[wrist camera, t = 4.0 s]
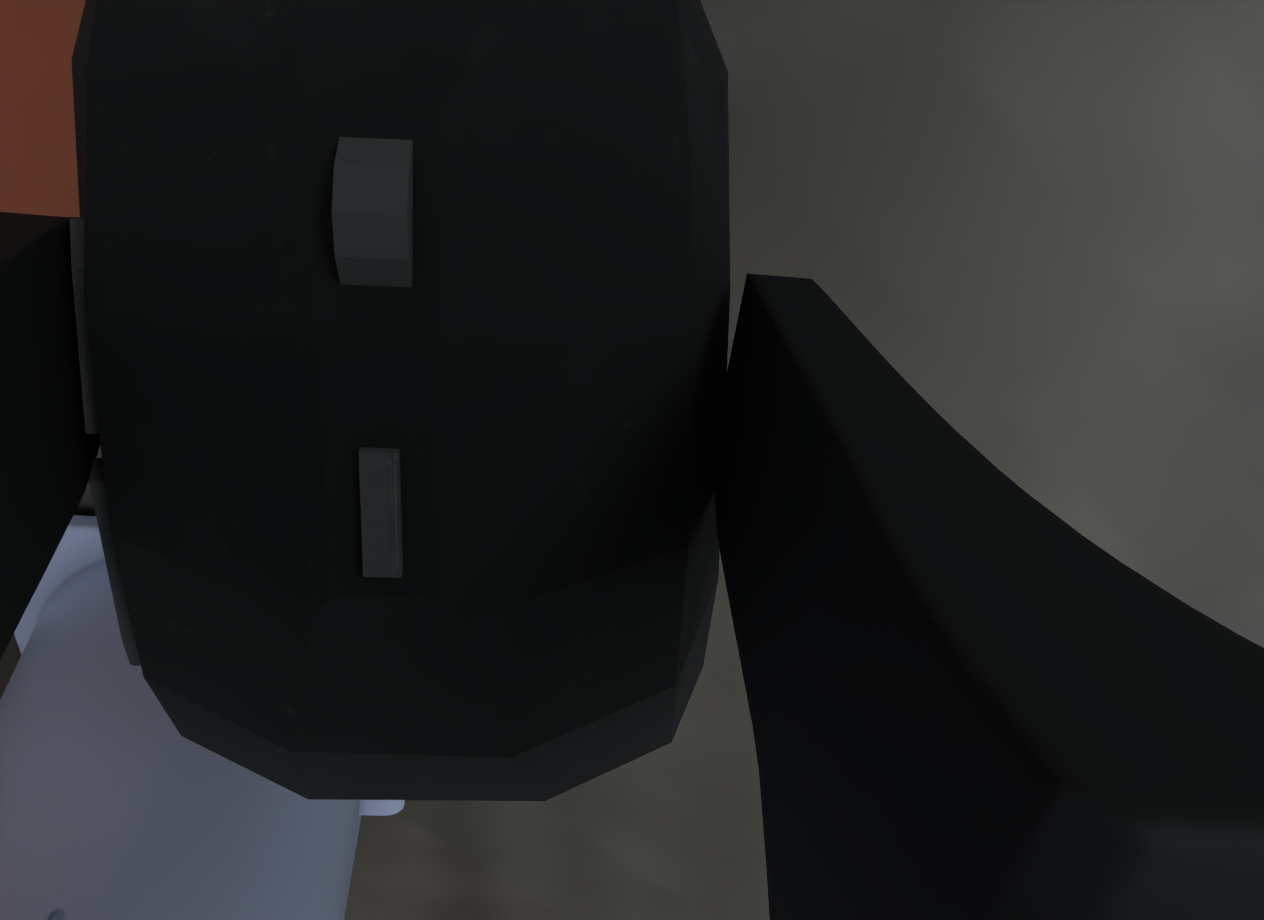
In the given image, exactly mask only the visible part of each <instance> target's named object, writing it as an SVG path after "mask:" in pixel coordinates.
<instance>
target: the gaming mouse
mask: <svg viewBox="0 0 1264 920" xmlns="http://www.w3.org/2000/svg"><path fill="white" fill-rule="evenodd" d="M71 61H72V80H73V98H74V117H75V136H76V155H77V173H78V192H79V211H80V217H70V242H71V266H72V279H73V291H74V303H75V314H76V326H77V338H78V350H79V361H80V373H81V385H82V397H83V408H84V420H85V432H86V434H99V435H100V444H101V453H102V458H94V459H93V462H92V468H91V473H90V478H89V485H90V490H91V494H92V499H93V504H94V509H95V514H96V518H97V523H98V528H99V533H100V538H101V542H102V547H103V552H104V557H105V562H106V567H107V571H108V576H109V581H110V586H111V591H112V595H113V600H114V605H115V610H116V615H117V619H118V624H119V629H120V634H121V639H122V642H123V645H124V648H125V651H126V654H127V657H128V660H129V663H130V665H133V666H141V669H142V673H143V677H144V679H145V680H146V682H147V683H148V685H149V687H150V688H151V690H152V691H153V693H154V694H155V696H156V697H157V699H158V701H159V702H160V704H161V705H162V707H163V708H164V710H165V712H166V713H167V715H168V716H169V718H170V719H171V721H172V723H173V724H174V726H175V727H176V729H177V730H178V732H179V734H180V735H181V736H182V737H184V738H186V739H188V740H190V741H192V742H194V743H196V744H198V745H200V746H202V747H204V748H206V749H208V750H210V751H212V752H214V753H216V754H218V755H220V756H222V757H224V758H226V759H228V760H230V761H232V762H234V763H236V764H238V765H240V766H242V767H244V768H246V769H248V770H250V771H252V772H254V773H256V774H258V775H260V776H262V777H264V778H266V779H268V780H270V781H272V782H274V783H276V784H278V785H280V786H282V787H284V788H286V789H288V790H290V791H292V792H294V793H296V794H298V795H300V796H302V797H304V798H306V799H311V800H494V801H546V800H548V799H550V798H552V797H554V796H557V795H559V794H561V793H563V792H565V791H567V790H570V789H572V788H574V787H576V786H578V785H580V784H582V783H585V782H587V781H589V780H591V779H593V778H595V777H598V776H600V775H602V774H604V773H606V772H608V771H611V770H613V769H615V768H617V767H619V766H621V765H623V764H626V763H628V762H630V761H632V760H634V759H636V758H639V757H641V756H643V755H645V754H647V753H649V752H652V751H654V750H656V749H658V748H660V747H662V746H664V745H667V744H669V743H671V742H672V739H673V737H674V735H675V732H676V730H677V727H678V725H679V723H680V720H681V718H682V715H683V713H684V710H685V708H686V706H687V703H688V701H689V698H690V696H691V694H692V691H693V689H694V686H695V684H696V682H697V679H698V677H699V674H700V672H701V670H702V667H703V663H704V657H705V651H706V645H707V640H708V634H709V628H710V622H711V616H712V611H713V605H714V599H715V593H716V588H717V582H718V574H719V550H720V548H719V542H718V536H717V526H716V509H715V492H714V491H715V483H716V474H717V465H718V455H719V446H720V437H721V428H722V418H723V409H724V400H725V390H726V377H727V352H728V327H729V302H730V231H729V139H728V71H727V68H726V66H725V63H724V60H723V58H722V55H721V53H720V50H719V48H718V45H717V43H716V40H715V38H714V35H713V33H712V30H711V28H710V25H709V22H708V20H707V17H706V15H705V12H704V10H703V7H702V5H701V2H700V0H86V1H85V5H84V10H83V14H82V18H81V22H80V26H79V30H78V34H77V38H76V43H75V47H74V51H73V55H72V59H71Z"/></svg>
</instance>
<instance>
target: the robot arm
mask: <svg viewBox="0 0 1264 920" xmlns="http://www.w3.org/2000/svg"><path fill="white" fill-rule="evenodd" d="M99 447H100V435H99V434H86V432H85V420H84V408H83V397H82V385H81V373H80V361H79V350H78V338H77V326H76V314H75V303H74V291H73V279H72V266H71V242H70V217H58V216H46V215H34V214H22V213H10V212H0V659H1V657H2V655H3V653H4V651H5V650H6V648H7V646H8V644H9V642H10V640H11V638H12V636H13V634H14V635H15V638H16V641H17V644H18V647H19V649H20V652H21V657H20V659H19V661H18V663H17V666H16V668H15V670H14V672H13V674H12V676H11V678H10V680H9V682H8V684H7V687H6V689H5V691H4V693H3V695H2V697H1V699H0V920H344V916H345V911H346V905H347V899H348V893H349V887H350V881H351V875H352V869H353V863H354V857H355V851H356V845H357V839H358V833H359V827H360V821H361V815H373V816H389V815H393V814H396V813H398V812H400V811H401V810H402V809H403V807H404V803H405V800H311V799H306V798H304V797H302V796H300V795H298V794H296V793H294V792H292V791H290V790H288V789H286V788H284V787H282V786H280V785H278V784H276V783H274V782H272V781H270V780H268V779H266V778H264V777H262V776H260V775H258V774H256V773H254V772H252V771H250V770H248V769H246V768H244V767H242V766H240V765H238V764H236V763H234V762H232V761H230V760H228V759H226V758H224V757H222V756H220V755H218V754H216V753H214V752H212V751H210V750H208V749H206V748H204V747H202V746H200V745H198V744H196V743H194V742H192V741H190V740H188V739H186V738H184V737H182V736H181V735H180V734H179V732H178V730H177V729H176V727H175V726H174V724H173V723H172V721H171V719H170V718H169V716H168V715H167V713H166V712H165V710H164V708H163V707H162V705H161V704H160V702H159V701H158V699H157V697H156V696H155V694H154V693H153V691H152V690H151V688H150V687H149V685H148V683H147V682H146V680H145V679H144V677H143V673H142V669H141V666H133V665H130V663H129V660H128V657H127V654H126V651H125V648H124V645H123V642H122V639H121V634H120V629H119V624H118V619H117V615H116V610H115V605H114V600H113V595H112V591H111V586H110V581H109V576H108V571H107V567H106V562H105V557H104V552H103V547H102V542H101V538H100V533H99V528H98V523H97V518H96V516H81V515H74V513H75V511H76V509H77V507H78V505H79V503H80V501H81V499H82V496H83V494H84V492H85V489H86V486H87V483H88V480H89V477H90V473H91V468H92V462H93V459H94V458H96V456H97V453H98V450H99ZM714 492H715V509H716V526H717V536H718V542H719V548H720V554H721V559H722V565H723V570H724V576H725V581H726V587H727V592H728V598H729V603H730V608H731V614H732V619H733V624H734V629H735V635H736V640H737V645H738V650H739V656H740V661H741V666H742V672H743V677H744V682H745V687H746V693H747V698H748V703H749V709H750V714H751V719H752V724H753V731H754V738H755V745H756V752H757V759H758V766H759V776H760V789H761V802H762V814H763V827H764V840H765V853H766V866H767V882H768V898H769V914H770V920H1264V648H1262V647H1261V646H1259V645H1257V644H1255V643H1253V642H1251V641H1249V640H1247V639H1246V638H1244V637H1242V636H1240V635H1238V634H1237V633H1235V632H1233V631H1231V630H1230V629H1228V628H1226V627H1224V626H1223V625H1221V624H1219V623H1218V622H1216V621H1214V620H1212V619H1211V618H1209V617H1207V616H1206V615H1204V614H1202V613H1200V612H1199V611H1197V610H1195V609H1193V608H1192V607H1190V606H1189V605H1187V604H1185V603H1184V602H1182V601H1180V600H1179V599H1177V598H1176V597H1174V596H1173V595H1171V594H1170V593H1168V592H1166V591H1165V590H1163V589H1162V588H1160V587H1159V586H1157V585H1155V584H1154V583H1152V582H1151V581H1149V580H1148V579H1146V578H1145V577H1143V576H1141V575H1140V574H1138V573H1137V572H1135V571H1134V570H1132V569H1131V568H1129V567H1127V566H1126V565H1124V564H1123V563H1121V562H1120V561H1118V560H1117V559H1115V558H1114V557H1112V556H1111V555H1110V554H1108V553H1107V552H1105V551H1104V550H1102V549H1101V548H1099V547H1098V546H1097V545H1095V544H1094V543H1092V542H1091V541H1089V540H1088V539H1087V538H1085V537H1084V536H1082V535H1081V534H1080V533H1078V532H1077V531H1076V530H1074V529H1073V528H1072V527H1071V526H1069V525H1068V524H1067V523H1065V522H1064V521H1063V520H1061V519H1060V518H1059V517H1057V516H1056V515H1055V514H1054V513H1052V512H1051V511H1050V510H1048V509H1047V508H1046V507H1044V506H1043V505H1042V504H1041V503H1039V502H1038V501H1037V500H1035V499H1034V498H1033V497H1031V496H1030V495H1029V494H1027V493H1026V492H1025V491H1024V490H1023V489H1021V488H1020V487H1019V486H1018V485H1016V484H1015V483H1014V482H1013V481H1012V480H1010V479H1009V478H1008V477H1007V476H1006V475H1004V474H1003V473H1002V472H1001V471H1000V470H999V469H997V468H996V467H995V466H994V465H993V464H992V463H991V462H990V461H989V460H987V459H986V458H985V457H984V456H983V455H982V454H981V453H980V452H979V451H978V450H977V449H975V448H974V447H973V446H972V445H971V444H970V443H969V442H968V441H967V440H966V439H964V438H963V437H962V436H961V435H960V434H959V433H958V432H957V431H956V430H955V429H953V428H952V427H951V426H950V425H949V424H948V423H947V422H946V421H945V420H944V419H943V418H942V417H941V416H940V415H939V414H938V413H937V412H936V411H935V410H934V409H933V408H932V407H931V406H930V405H929V404H928V403H927V402H926V401H925V400H924V399H923V398H922V397H921V396H920V395H919V394H918V393H917V392H916V391H915V390H914V389H913V388H912V387H911V386H910V385H909V384H908V383H907V382H906V381H905V380H904V378H903V377H902V376H901V375H900V374H899V373H898V372H897V371H896V370H895V369H894V368H893V367H892V366H891V365H890V364H889V363H888V361H887V360H886V359H885V358H884V357H883V356H882V355H881V354H880V353H879V352H878V351H877V350H876V348H875V347H874V346H873V345H872V344H871V343H870V342H869V341H868V340H867V338H866V337H865V336H864V335H863V334H862V333H861V332H860V331H859V330H858V329H857V327H856V326H855V325H854V324H853V323H852V322H851V321H850V320H849V318H848V317H847V316H846V315H845V314H844V313H843V312H842V311H841V310H840V308H839V307H838V306H837V305H836V304H835V303H834V302H833V301H832V300H831V299H830V297H829V296H828V295H827V294H826V293H825V292H824V291H823V290H822V289H821V288H820V287H819V286H818V285H817V284H816V283H815V282H814V281H813V280H812V279H805V278H793V277H781V276H769V275H757V274H747V277H746V282H745V287H744V292H743V297H742V302H741V307H740V312H739V316H738V321H737V326H736V331H735V336H734V341H733V346H732V351H731V356H730V361H729V366H728V371H727V377H726V390H725V400H724V409H723V418H722V428H721V437H720V446H719V455H718V465H717V474H716V483H715V491H714Z"/></svg>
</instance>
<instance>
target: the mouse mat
mask: <svg viewBox="0 0 1264 920" xmlns="http://www.w3.org/2000/svg"><path fill="white" fill-rule="evenodd" d="M85 1H86V0H0V212H10V213H22V214H34V215H46V216H58V217H80V211H79V192H78V173H77V155H76V136H75V117H74V98H73V80H72V61H71V59H72V55H73V51H74V47H75V43H76V38H77V34H78V30H79V26H80V22H81V18H82V14H83V10H84V5H85Z"/></svg>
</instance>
